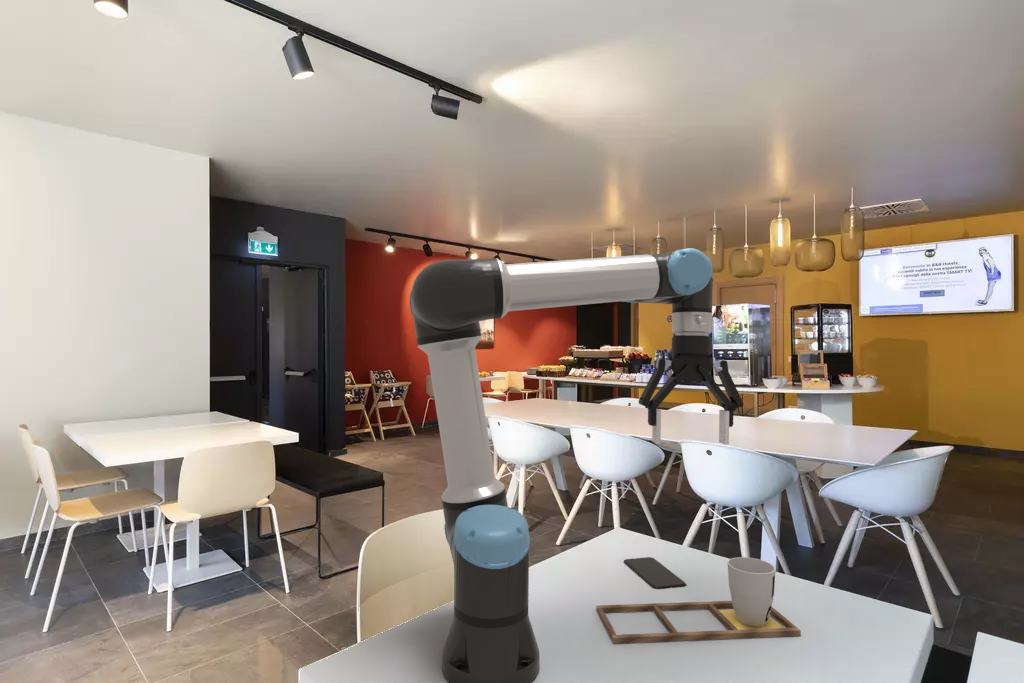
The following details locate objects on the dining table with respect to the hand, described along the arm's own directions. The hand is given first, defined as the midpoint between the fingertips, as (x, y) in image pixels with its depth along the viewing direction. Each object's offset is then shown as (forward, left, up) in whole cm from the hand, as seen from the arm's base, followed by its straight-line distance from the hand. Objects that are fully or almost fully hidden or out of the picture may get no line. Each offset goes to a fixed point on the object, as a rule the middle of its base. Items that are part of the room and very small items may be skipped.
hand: (690, 443), depth 108 cm
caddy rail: (-2, -7, -31) cm, 32 cm away
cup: (+9, -7, -32) cm, 33 cm away
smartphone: (-2, +16, -32) cm, 36 cm away
